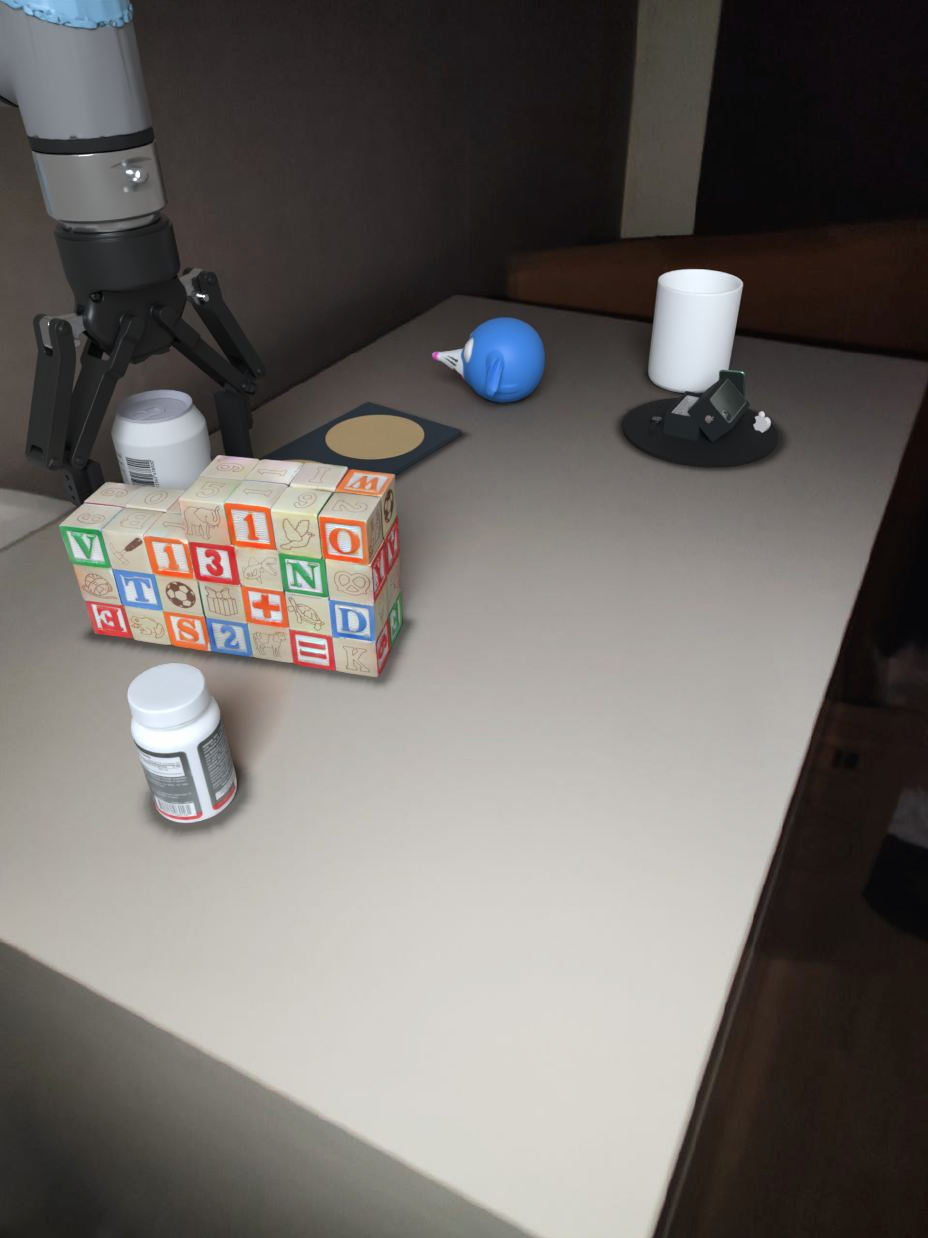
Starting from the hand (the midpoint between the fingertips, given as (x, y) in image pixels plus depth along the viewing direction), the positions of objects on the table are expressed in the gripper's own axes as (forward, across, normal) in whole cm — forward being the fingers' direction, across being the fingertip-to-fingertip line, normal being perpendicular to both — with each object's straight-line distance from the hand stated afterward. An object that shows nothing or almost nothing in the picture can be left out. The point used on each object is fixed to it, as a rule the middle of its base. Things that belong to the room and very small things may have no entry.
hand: (178, 502), depth 72 cm
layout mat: (+4, +17, -1) cm, 17 cm away
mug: (+4, +56, -19) cm, 59 cm away
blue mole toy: (+4, +38, -4) cm, 38 cm away
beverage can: (+4, 0, 0) cm, 4 cm away
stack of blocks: (+4, -5, -13) cm, 14 cm away
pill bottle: (+4, -18, -22) cm, 29 cm away
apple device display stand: (+4, +43, -26) cm, 50 cm away
